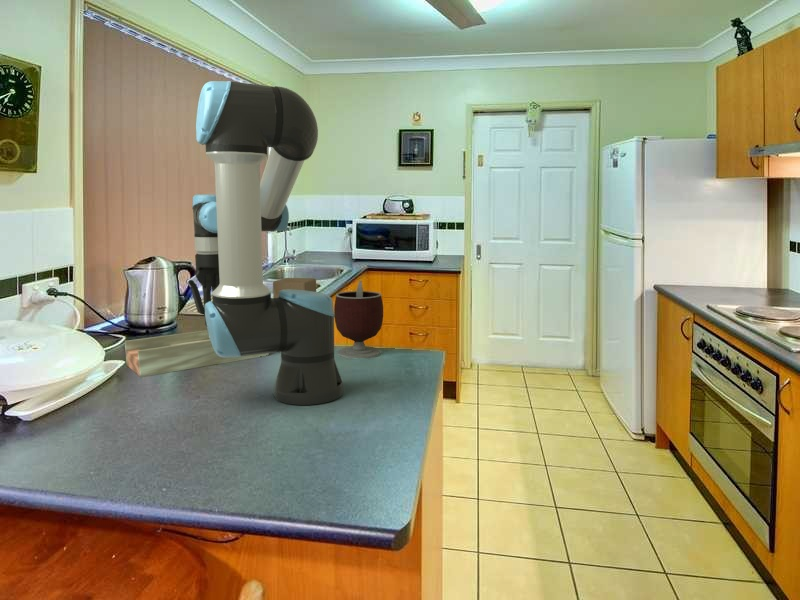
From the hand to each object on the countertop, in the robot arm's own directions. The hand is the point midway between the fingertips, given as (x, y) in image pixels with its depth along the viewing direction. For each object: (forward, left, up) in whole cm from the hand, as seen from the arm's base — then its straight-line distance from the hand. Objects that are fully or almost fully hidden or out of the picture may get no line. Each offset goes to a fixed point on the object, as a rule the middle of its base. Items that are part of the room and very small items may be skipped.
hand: (213, 338), depth 157 cm
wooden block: (-1, -25, -6) cm, 26 cm away
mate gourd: (-20, -35, -6) cm, 41 cm away
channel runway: (0, +4, -6) cm, 7 cm away
